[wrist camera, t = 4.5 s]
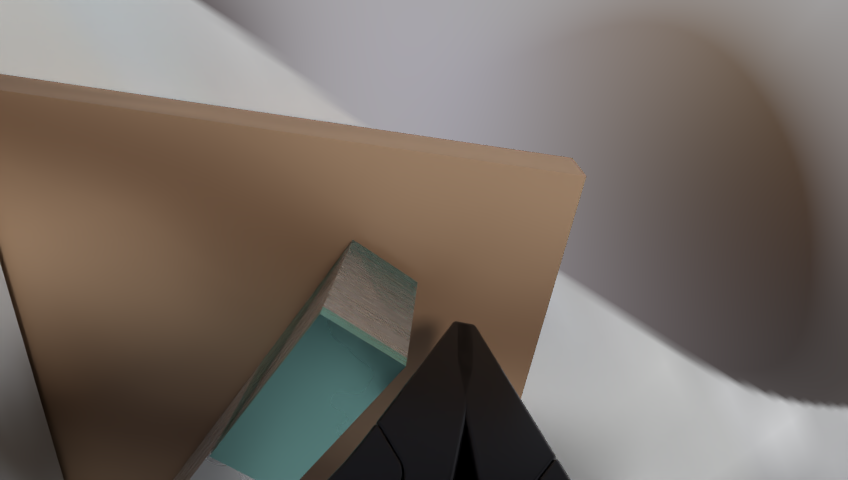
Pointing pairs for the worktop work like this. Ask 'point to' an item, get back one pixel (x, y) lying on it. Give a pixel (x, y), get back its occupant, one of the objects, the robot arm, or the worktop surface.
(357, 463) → the robot arm
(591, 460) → the worktop surface
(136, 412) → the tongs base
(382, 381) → the hinged jaw
